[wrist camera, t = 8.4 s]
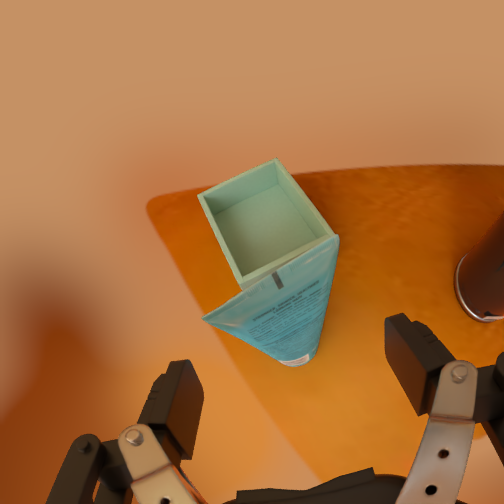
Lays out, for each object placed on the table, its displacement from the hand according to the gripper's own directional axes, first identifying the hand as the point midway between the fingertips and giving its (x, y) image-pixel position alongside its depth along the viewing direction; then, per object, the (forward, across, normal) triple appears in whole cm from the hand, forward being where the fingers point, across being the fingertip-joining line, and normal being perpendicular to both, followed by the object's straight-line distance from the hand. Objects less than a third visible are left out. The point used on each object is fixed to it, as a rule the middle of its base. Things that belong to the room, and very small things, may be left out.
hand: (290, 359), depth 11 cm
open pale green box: (+25, 0, +2) cm, 25 cm away
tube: (+17, 0, +11) cm, 20 cm away
